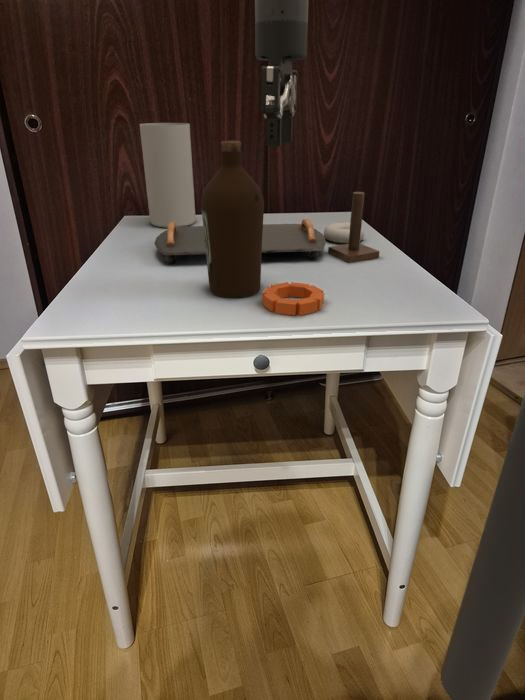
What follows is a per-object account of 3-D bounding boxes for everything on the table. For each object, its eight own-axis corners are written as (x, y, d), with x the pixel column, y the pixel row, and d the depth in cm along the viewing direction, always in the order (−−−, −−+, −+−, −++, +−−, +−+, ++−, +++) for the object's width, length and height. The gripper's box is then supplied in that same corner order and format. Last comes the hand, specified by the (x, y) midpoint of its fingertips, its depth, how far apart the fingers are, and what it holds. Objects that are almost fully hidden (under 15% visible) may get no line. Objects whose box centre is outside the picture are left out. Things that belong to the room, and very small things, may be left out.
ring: (333, 308, 81) (334, 297, 80) (281, 319, 77) (281, 308, 76) (302, 289, 89) (303, 279, 88) (253, 298, 85) (253, 288, 84)
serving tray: (151, 267, 100) (147, 237, 97) (160, 238, 120) (158, 212, 117) (334, 261, 103) (336, 232, 100) (313, 234, 124) (315, 209, 121)
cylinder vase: (153, 218, 140) (143, 122, 128) (197, 217, 140) (191, 122, 129) (147, 228, 129) (135, 125, 117) (194, 228, 129) (187, 125, 118)
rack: (378, 257, 106) (386, 194, 99) (349, 263, 103) (354, 197, 96) (356, 248, 112) (362, 188, 106) (327, 253, 109) (331, 191, 102)
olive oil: (265, 279, 93) (265, 139, 81) (262, 300, 84) (262, 144, 72) (210, 278, 94) (203, 138, 82) (201, 299, 84) (191, 144, 73)
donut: (372, 241, 118) (343, 232, 125) (374, 227, 117) (344, 218, 124) (343, 248, 113) (314, 238, 120) (344, 233, 111) (315, 224, 118)
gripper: (298, 12, 62) (294, 149, 69) (315, 26, 74) (310, 141, 81) (242, 14, 63) (244, 148, 71) (267, 27, 75) (267, 140, 83)
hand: (279, 144), depth 76 cm, fingers open, 8 cm apart
